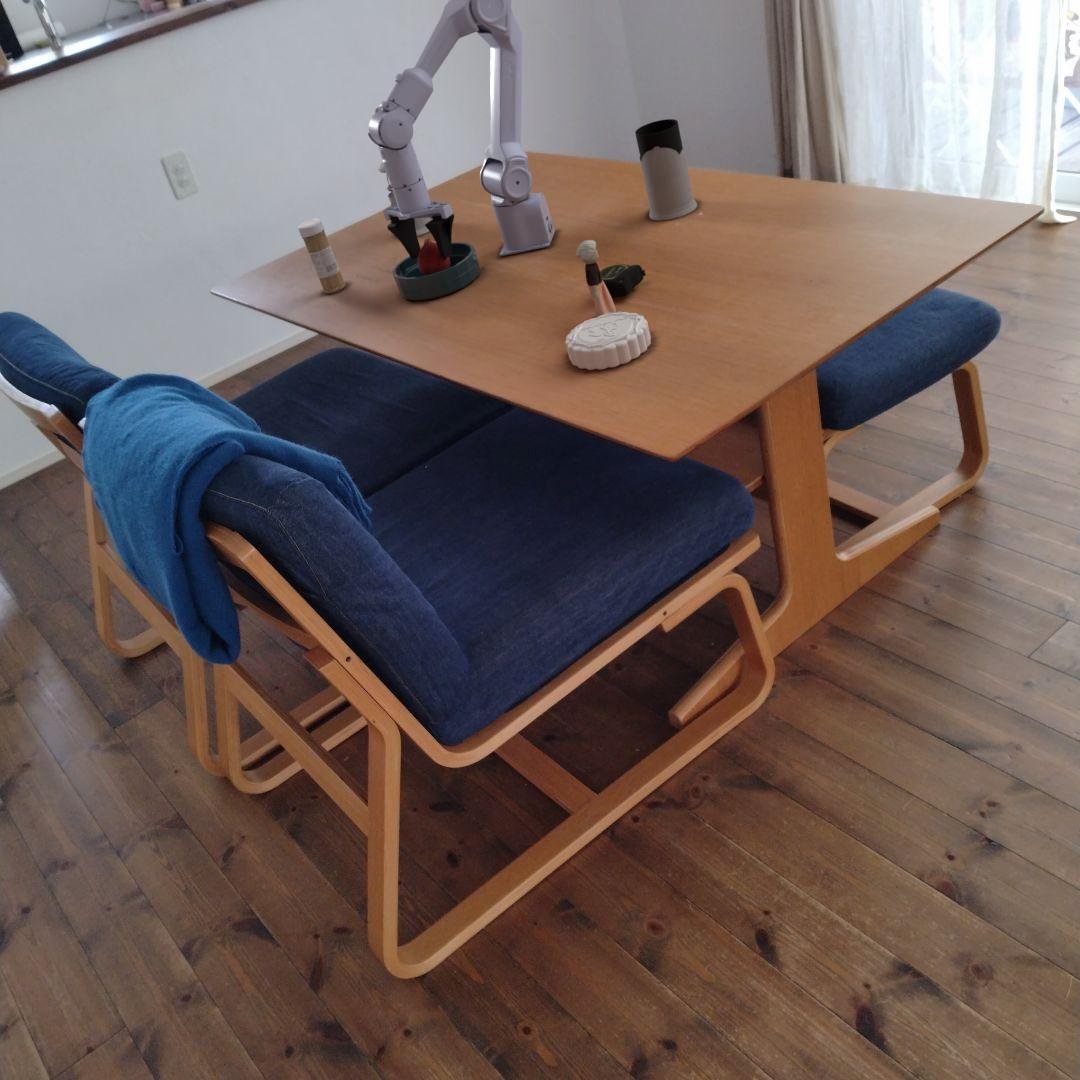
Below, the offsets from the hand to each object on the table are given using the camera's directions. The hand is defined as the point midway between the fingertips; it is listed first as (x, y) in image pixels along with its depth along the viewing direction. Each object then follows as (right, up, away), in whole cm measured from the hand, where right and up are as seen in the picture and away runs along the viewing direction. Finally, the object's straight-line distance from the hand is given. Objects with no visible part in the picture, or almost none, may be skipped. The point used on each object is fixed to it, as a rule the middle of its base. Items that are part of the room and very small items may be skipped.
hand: (432, 256), depth 197 cm
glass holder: (+44, +10, +4) cm, 45 cm away
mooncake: (+29, -24, -39) cm, 54 cm away
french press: (-7, +15, +35) cm, 38 cm away
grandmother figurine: (+29, -17, -29) cm, 45 cm away
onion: (+1, -4, +3) cm, 5 cm away
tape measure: (+33, -12, -23) cm, 42 cm away
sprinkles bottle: (-20, -2, +16) cm, 26 cm away
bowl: (+1, -4, +3) cm, 5 cm away
